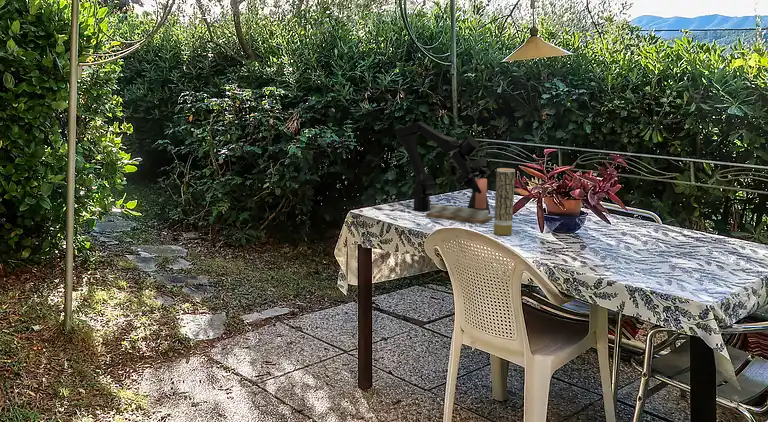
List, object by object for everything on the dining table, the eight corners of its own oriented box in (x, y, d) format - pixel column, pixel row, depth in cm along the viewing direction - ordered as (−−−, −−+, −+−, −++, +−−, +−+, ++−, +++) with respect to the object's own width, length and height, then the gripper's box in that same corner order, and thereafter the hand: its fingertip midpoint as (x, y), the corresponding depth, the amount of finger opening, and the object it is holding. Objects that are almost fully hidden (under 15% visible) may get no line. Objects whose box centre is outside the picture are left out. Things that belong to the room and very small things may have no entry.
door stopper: (490, 213, 289) (491, 186, 286) (481, 215, 285) (482, 188, 283) (475, 210, 296) (476, 184, 293) (466, 212, 292) (467, 185, 289)
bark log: (511, 236, 248) (515, 171, 243) (493, 235, 249) (496, 170, 244) (511, 232, 254) (515, 168, 249) (494, 231, 256) (497, 167, 251)
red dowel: (475, 208, 271) (476, 179, 269) (475, 206, 275) (476, 178, 273) (486, 208, 271) (487, 179, 268) (485, 206, 275) (486, 178, 272)
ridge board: (426, 217, 280) (426, 206, 279) (435, 212, 289) (435, 202, 288) (483, 224, 268) (484, 213, 267) (492, 219, 277) (492, 209, 276)
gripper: (461, 152, 264) (483, 182, 259) (487, 149, 278) (508, 177, 273) (445, 170, 271) (466, 199, 266) (471, 165, 284) (491, 194, 279)
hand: (483, 192), depth 271 cm, fingers closed on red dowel, 4 cm apart
